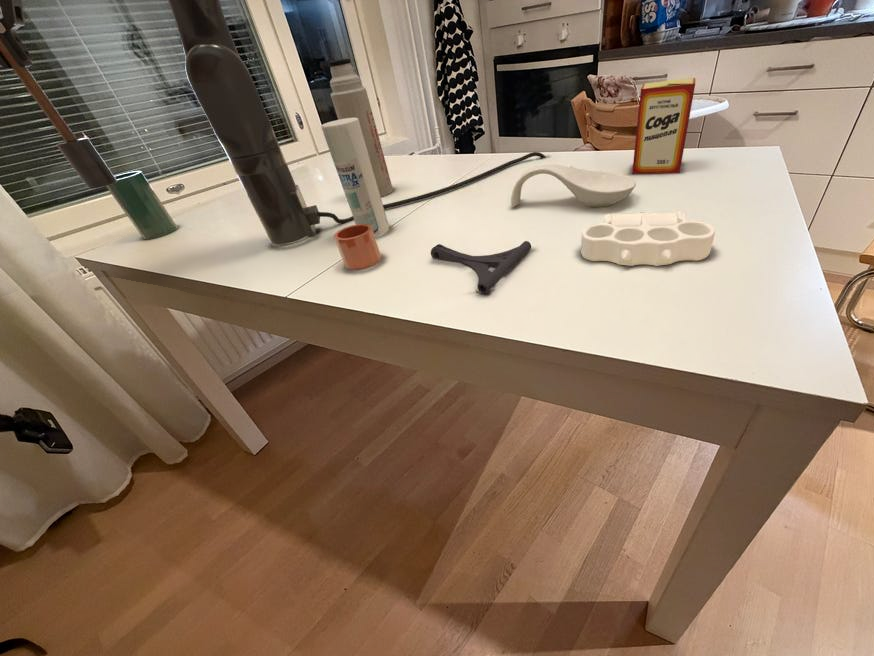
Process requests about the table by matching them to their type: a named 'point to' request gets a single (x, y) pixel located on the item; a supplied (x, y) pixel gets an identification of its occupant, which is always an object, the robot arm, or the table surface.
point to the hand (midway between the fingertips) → (18, 67)
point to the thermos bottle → (359, 116)
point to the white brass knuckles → (647, 239)
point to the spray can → (356, 172)
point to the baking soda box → (662, 126)
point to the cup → (142, 205)
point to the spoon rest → (582, 184)
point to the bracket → (484, 263)
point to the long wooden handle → (65, 133)
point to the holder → (358, 246)
